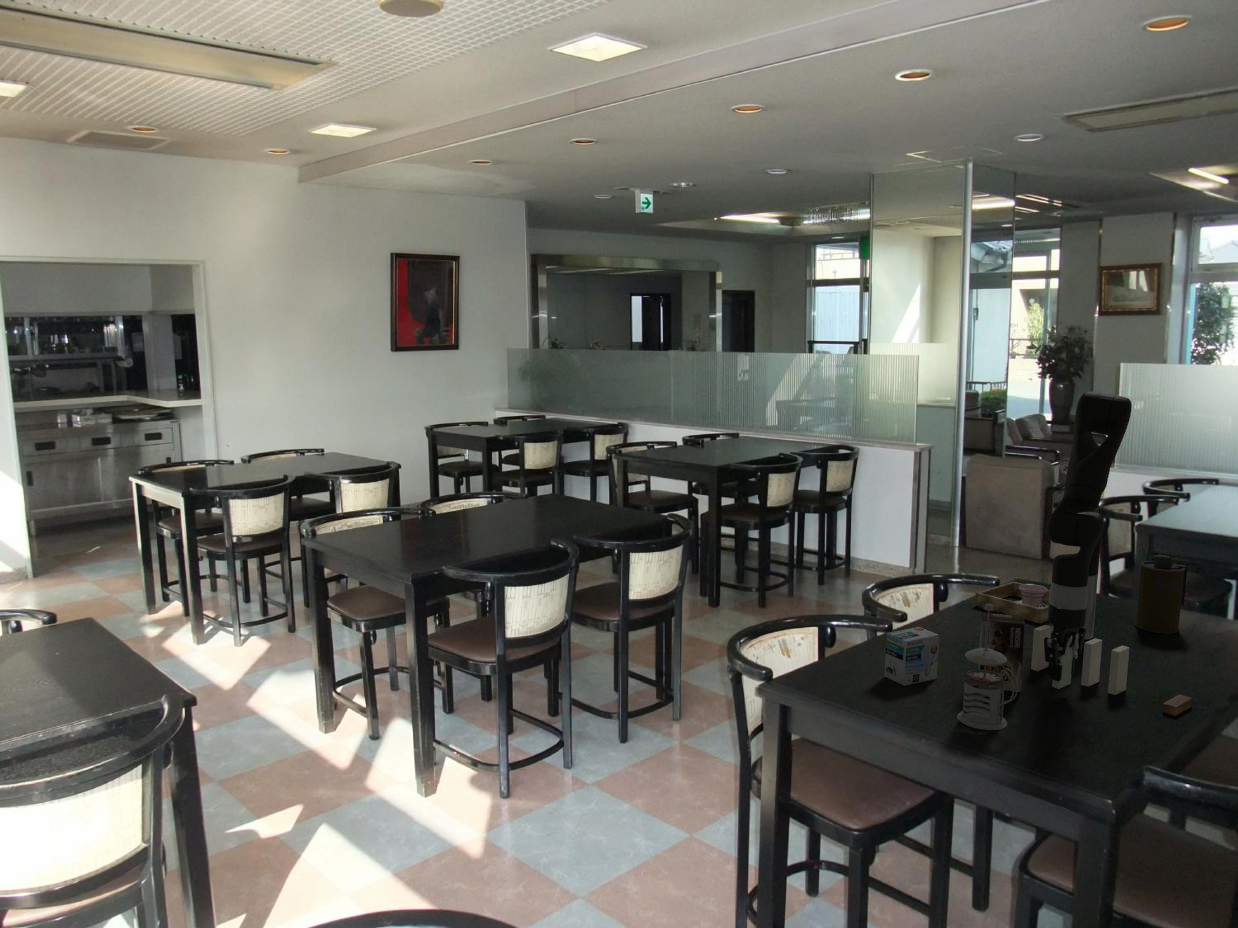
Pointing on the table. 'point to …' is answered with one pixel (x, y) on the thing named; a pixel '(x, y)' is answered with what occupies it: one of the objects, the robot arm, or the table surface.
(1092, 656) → the domino
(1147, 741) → the table surface
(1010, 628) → the coffee box
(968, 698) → the french press
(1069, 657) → the sage domino
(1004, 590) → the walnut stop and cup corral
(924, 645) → the light bulb box
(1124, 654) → the domino
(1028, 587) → the teacup
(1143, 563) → the canister
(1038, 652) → the domino
